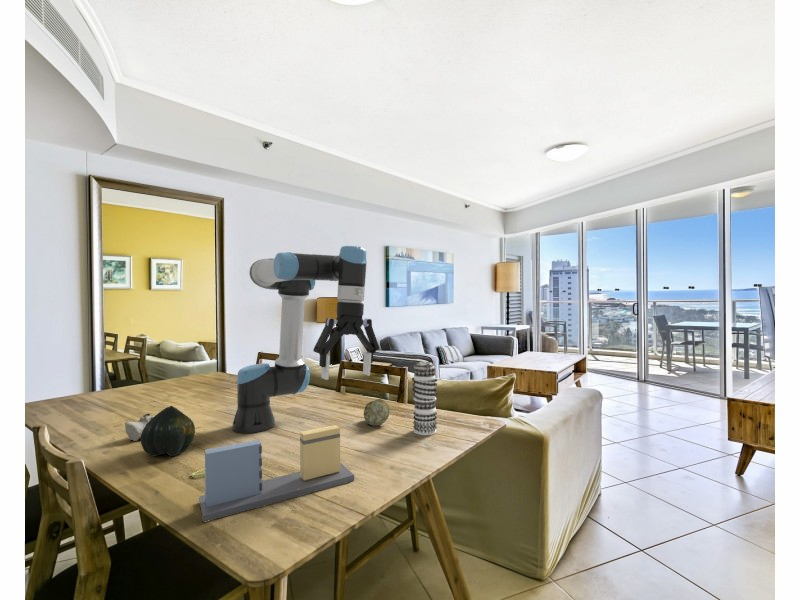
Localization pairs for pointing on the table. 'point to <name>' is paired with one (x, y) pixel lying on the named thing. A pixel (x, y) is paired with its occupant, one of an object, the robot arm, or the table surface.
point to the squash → (168, 433)
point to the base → (276, 492)
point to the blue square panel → (233, 472)
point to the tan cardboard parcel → (319, 452)
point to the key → (198, 474)
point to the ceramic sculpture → (137, 427)
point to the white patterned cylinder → (424, 398)
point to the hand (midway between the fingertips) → (346, 376)
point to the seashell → (376, 412)
